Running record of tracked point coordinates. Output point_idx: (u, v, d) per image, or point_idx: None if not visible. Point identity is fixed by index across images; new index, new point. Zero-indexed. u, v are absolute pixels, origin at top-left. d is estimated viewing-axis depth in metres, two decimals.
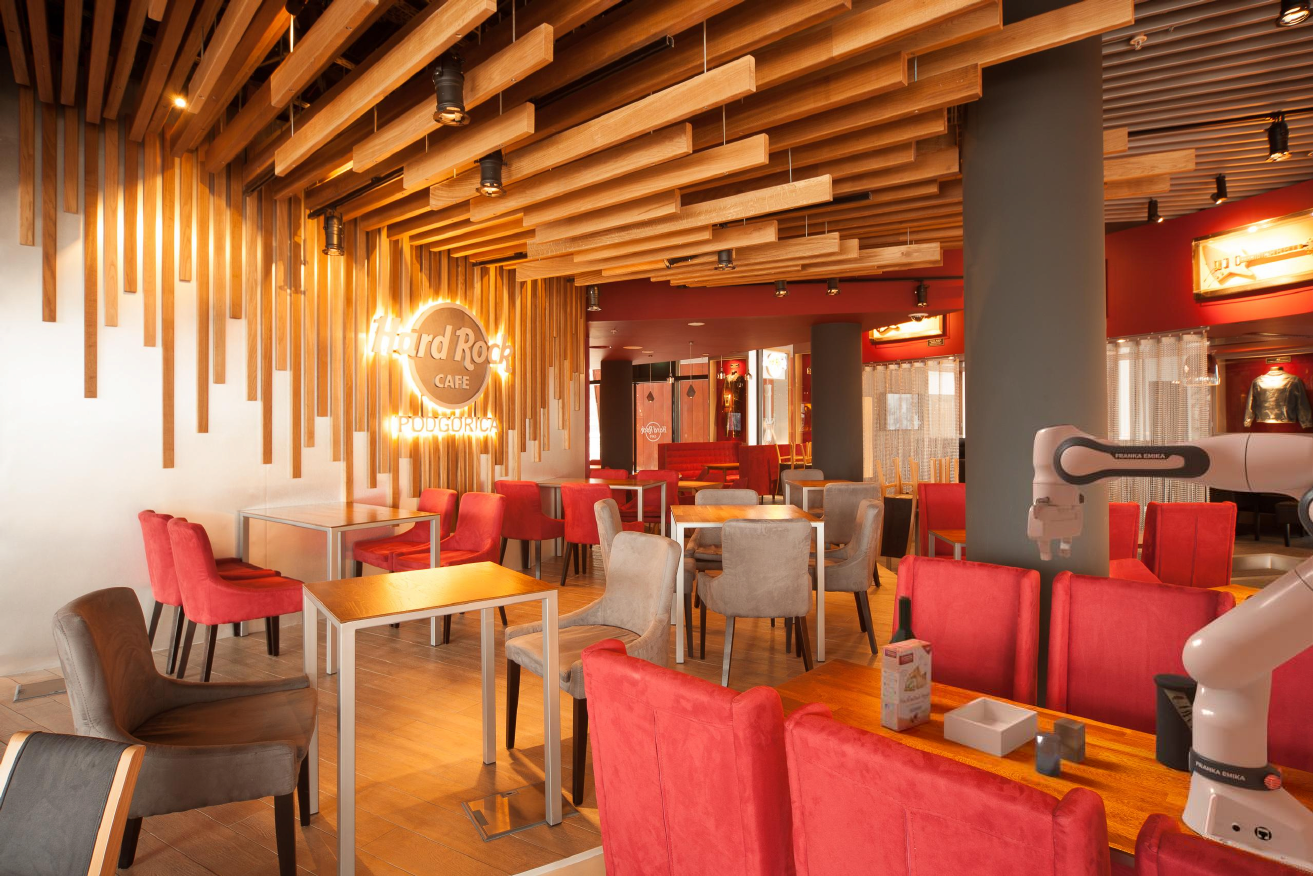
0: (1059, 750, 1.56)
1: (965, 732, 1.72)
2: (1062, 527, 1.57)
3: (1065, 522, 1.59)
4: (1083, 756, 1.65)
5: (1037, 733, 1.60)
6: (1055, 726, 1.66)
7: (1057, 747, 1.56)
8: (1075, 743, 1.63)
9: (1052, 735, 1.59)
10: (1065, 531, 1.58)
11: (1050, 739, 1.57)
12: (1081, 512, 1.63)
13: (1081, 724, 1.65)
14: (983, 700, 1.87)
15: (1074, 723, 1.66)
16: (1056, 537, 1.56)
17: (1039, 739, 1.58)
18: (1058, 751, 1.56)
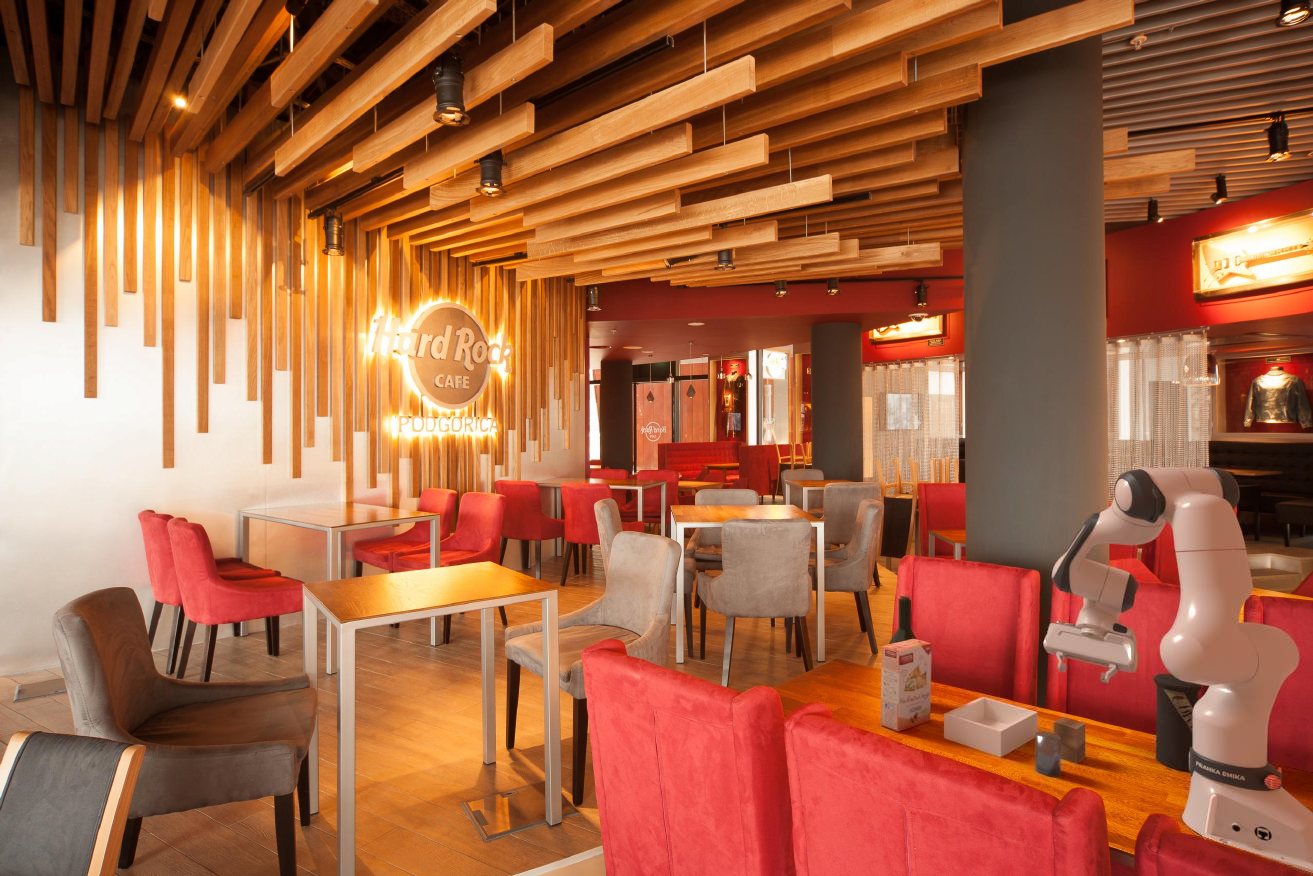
0: (1059, 750, 1.56)
1: (965, 732, 1.72)
2: (1084, 646, 1.77)
3: (1094, 645, 1.76)
4: (1083, 756, 1.65)
5: (1037, 733, 1.60)
6: (1055, 726, 1.66)
7: (1057, 747, 1.56)
8: (1075, 743, 1.63)
9: (1052, 735, 1.59)
10: (1090, 650, 1.76)
11: (1050, 739, 1.57)
12: (1129, 644, 1.72)
13: (1081, 724, 1.65)
14: (983, 700, 1.87)
15: (1074, 723, 1.66)
16: (1069, 650, 1.79)
17: (1039, 738, 1.58)
18: (1058, 751, 1.56)
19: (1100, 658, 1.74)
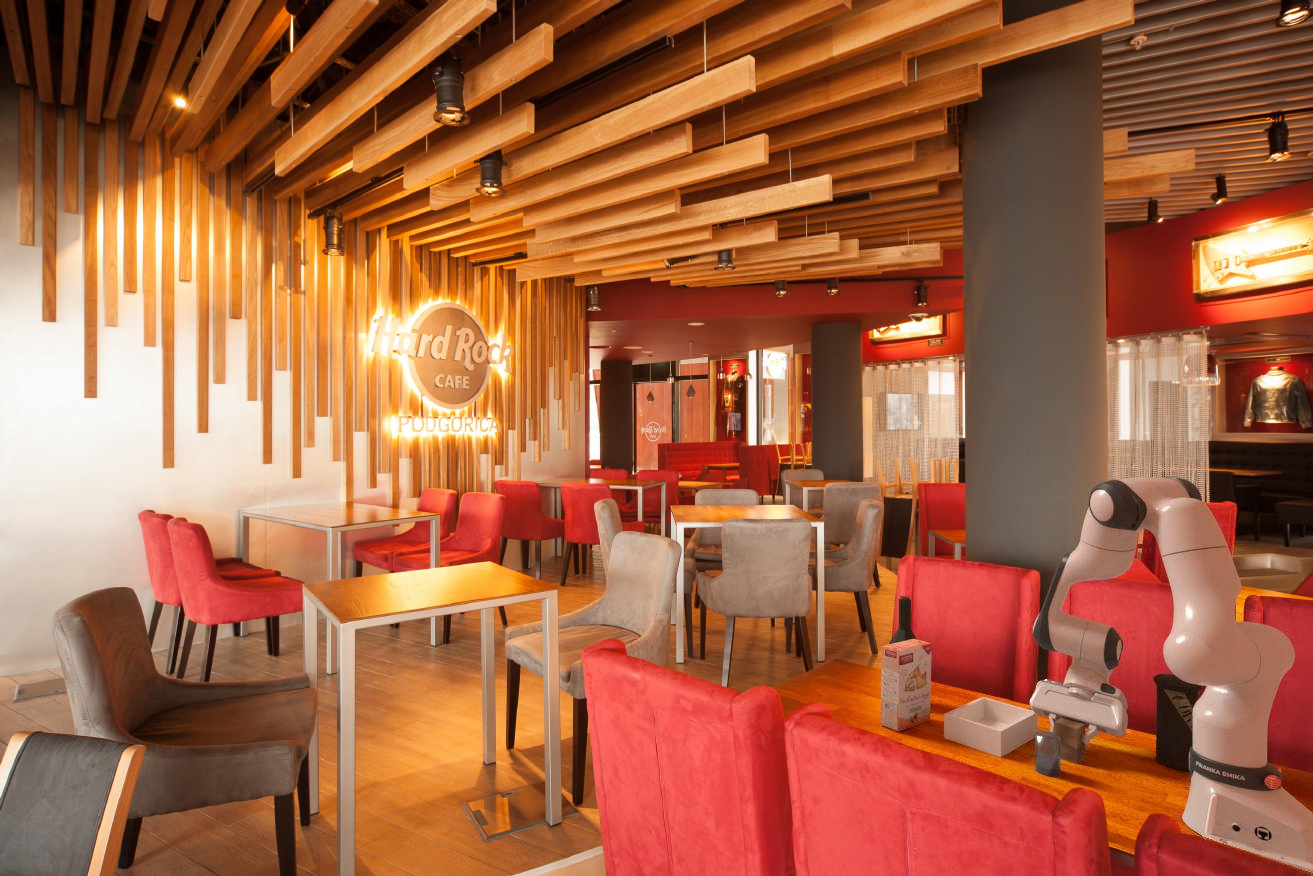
0: (1059, 750, 1.57)
1: (965, 732, 1.72)
2: (1071, 707, 1.69)
3: (1081, 706, 1.68)
4: (1083, 756, 1.65)
5: (1036, 733, 1.60)
6: (1055, 726, 1.66)
7: (1057, 747, 1.56)
8: (1075, 743, 1.63)
9: (1052, 735, 1.59)
10: (1077, 712, 1.67)
11: (1050, 739, 1.57)
12: (1117, 706, 1.63)
13: (1081, 724, 1.65)
14: (983, 700, 1.87)
15: (1074, 723, 1.66)
16: (1055, 711, 1.70)
17: (1039, 738, 1.58)
18: (1058, 751, 1.56)
19: (1087, 720, 1.65)
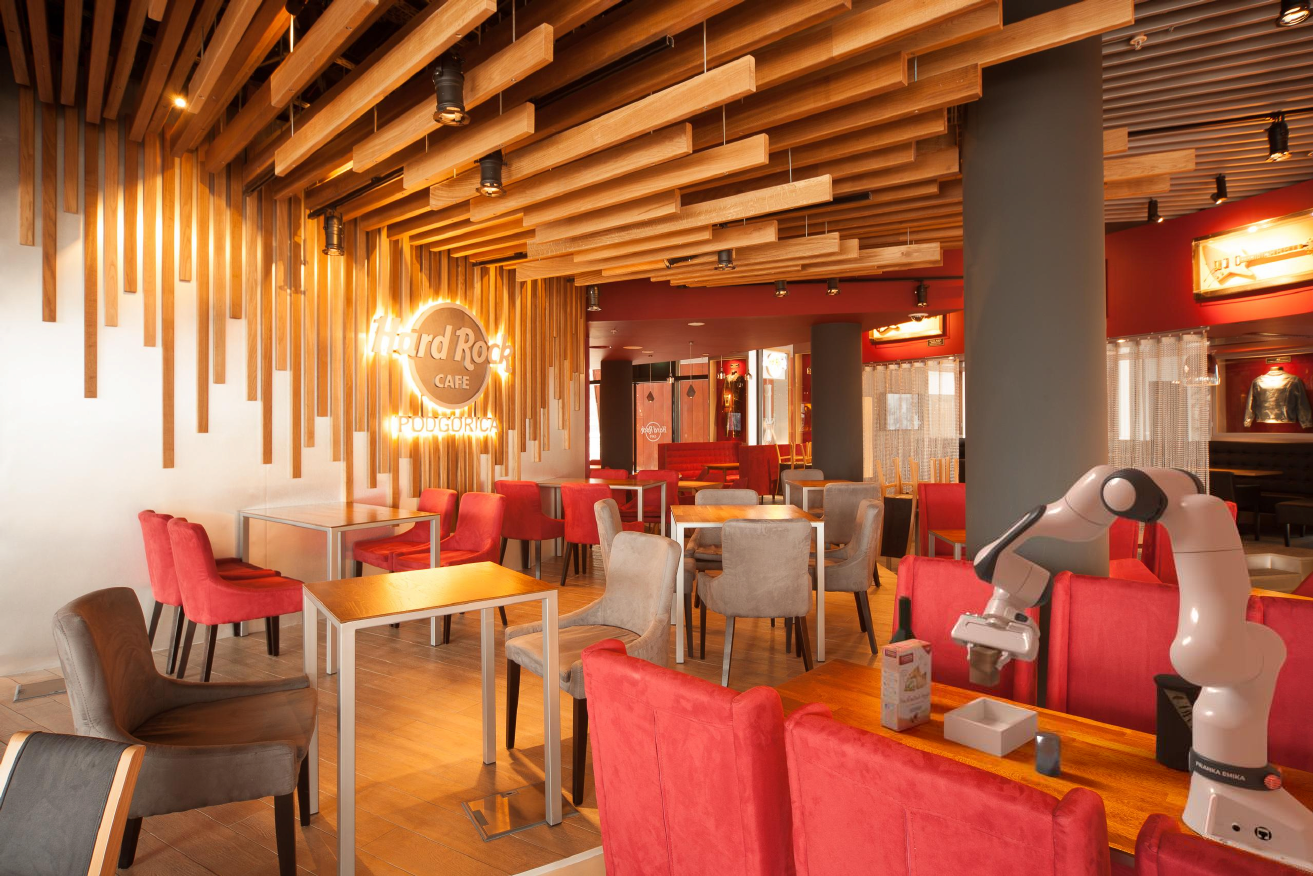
0: (1059, 750, 1.56)
1: (965, 732, 1.72)
2: (987, 636, 1.77)
3: (996, 635, 1.76)
4: (997, 681, 1.74)
5: (1037, 733, 1.59)
6: (971, 653, 1.75)
7: (1057, 747, 1.56)
8: (988, 667, 1.72)
9: (1052, 735, 1.59)
10: (992, 640, 1.76)
11: (1050, 739, 1.56)
12: (1028, 633, 1.71)
13: (995, 650, 1.74)
14: (983, 700, 1.87)
15: (989, 650, 1.74)
16: (973, 640, 1.79)
17: (1039, 739, 1.57)
18: (1058, 751, 1.56)
19: (1000, 647, 1.73)
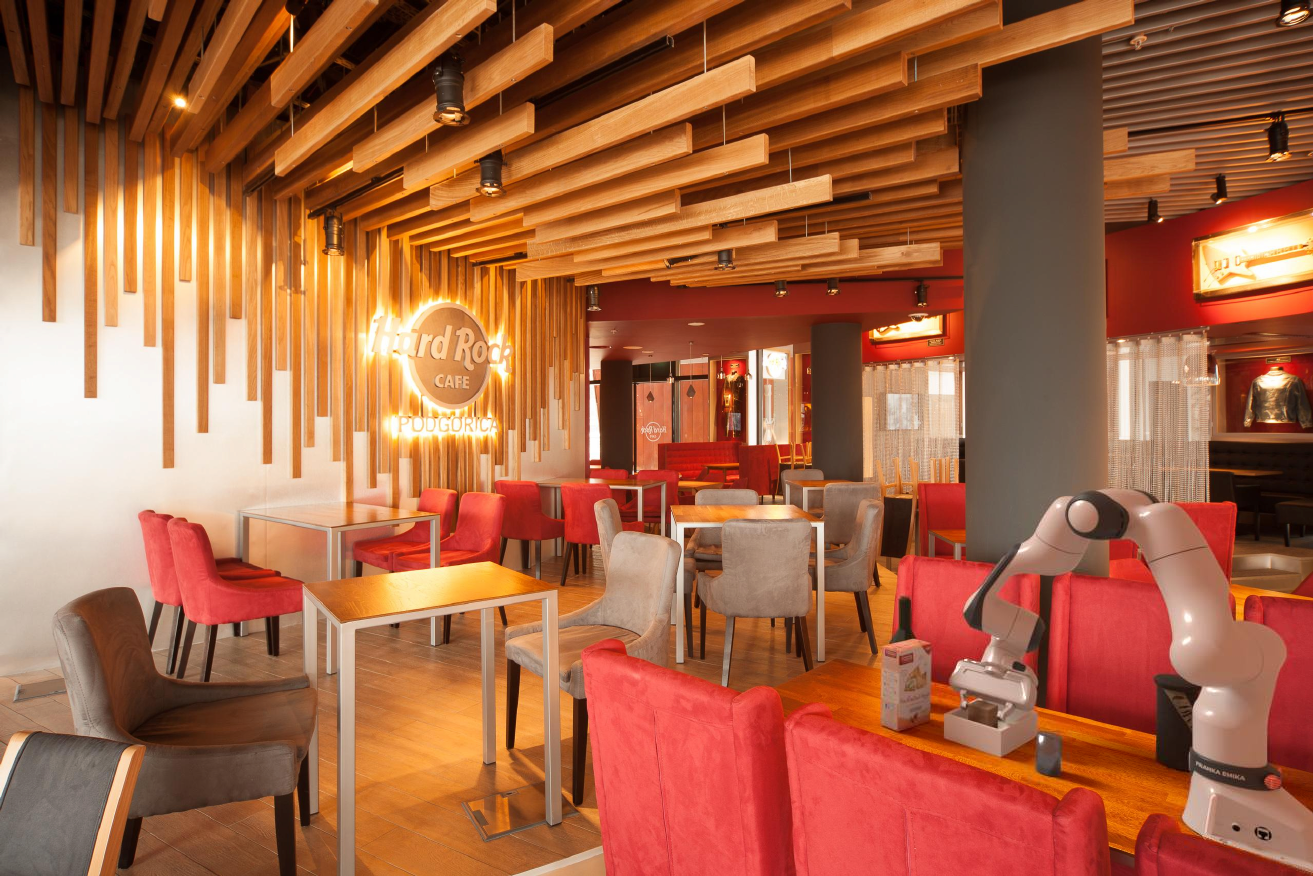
0: (1061, 749, 1.57)
1: (965, 732, 1.72)
2: (985, 684, 1.77)
3: (994, 683, 1.76)
4: None
5: (1038, 733, 1.59)
6: (969, 708, 1.75)
7: (1060, 747, 1.56)
8: (986, 724, 1.71)
9: (1053, 734, 1.59)
10: (990, 689, 1.76)
11: (1053, 739, 1.56)
12: (1026, 682, 1.71)
13: (993, 706, 1.74)
14: (983, 700, 1.87)
15: (987, 705, 1.74)
16: (971, 688, 1.78)
17: (1042, 738, 1.57)
18: (1060, 751, 1.56)
19: (998, 697, 1.73)
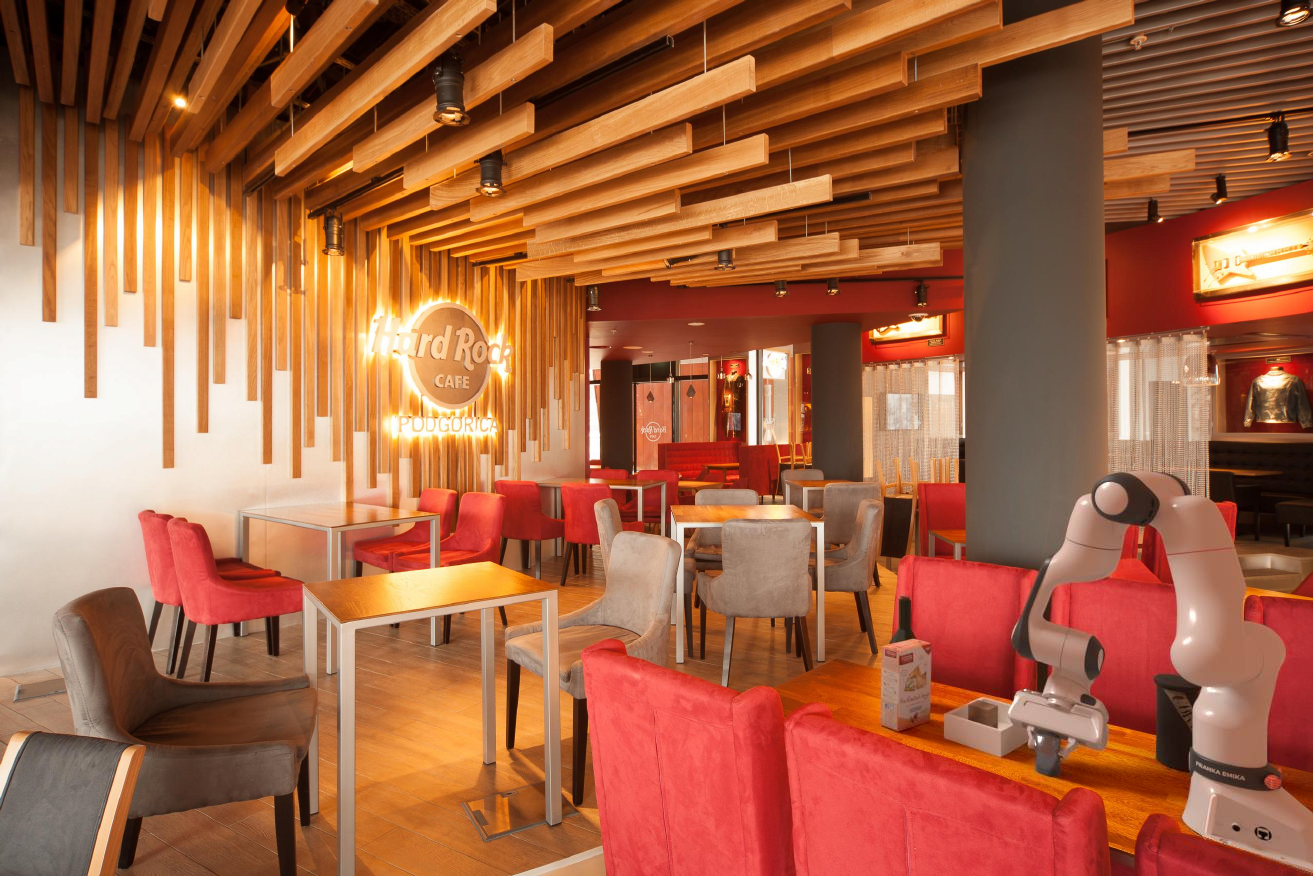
0: None
1: (965, 732, 1.72)
2: (1050, 719, 1.61)
3: (1060, 718, 1.60)
4: None
5: (1037, 734, 1.59)
6: (969, 708, 1.75)
7: (1060, 746, 1.57)
8: (986, 724, 1.71)
9: (1050, 734, 1.59)
10: (1055, 724, 1.60)
11: (1054, 739, 1.56)
12: (1097, 718, 1.55)
13: (993, 706, 1.74)
14: (983, 700, 1.87)
15: (987, 705, 1.74)
16: (1034, 723, 1.62)
17: (1043, 740, 1.57)
18: None
19: (1066, 733, 1.57)
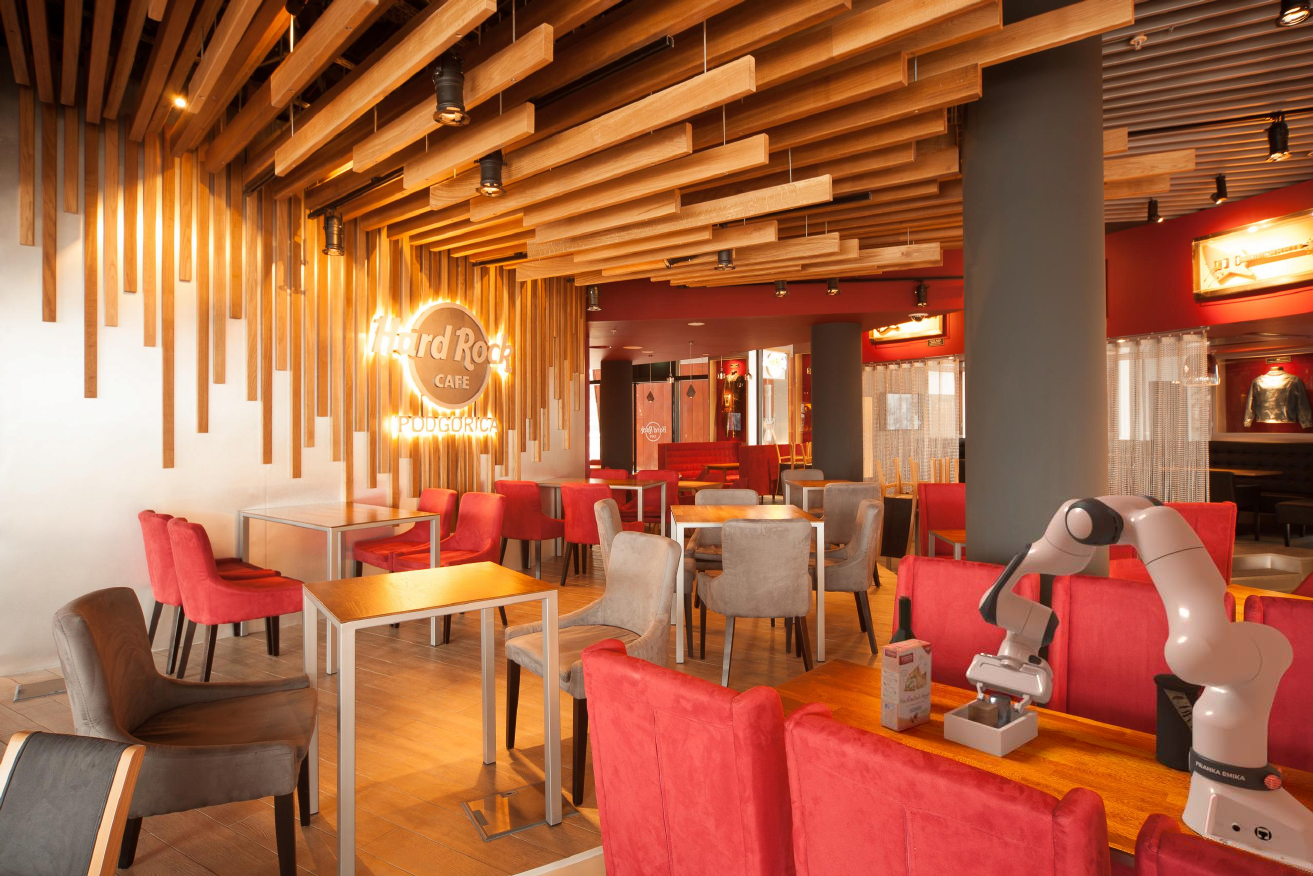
0: (1010, 708, 1.79)
1: (965, 732, 1.72)
2: (1002, 677, 1.83)
3: (1010, 676, 1.82)
4: None
5: (990, 696, 1.81)
6: (969, 708, 1.75)
7: (1009, 706, 1.78)
8: (986, 724, 1.71)
9: (1002, 696, 1.81)
10: (1006, 682, 1.81)
11: (1004, 700, 1.78)
12: (1042, 675, 1.77)
13: (993, 706, 1.74)
14: None
15: (987, 705, 1.74)
16: (988, 681, 1.84)
17: (995, 701, 1.78)
18: (1010, 710, 1.79)
19: (1015, 689, 1.79)
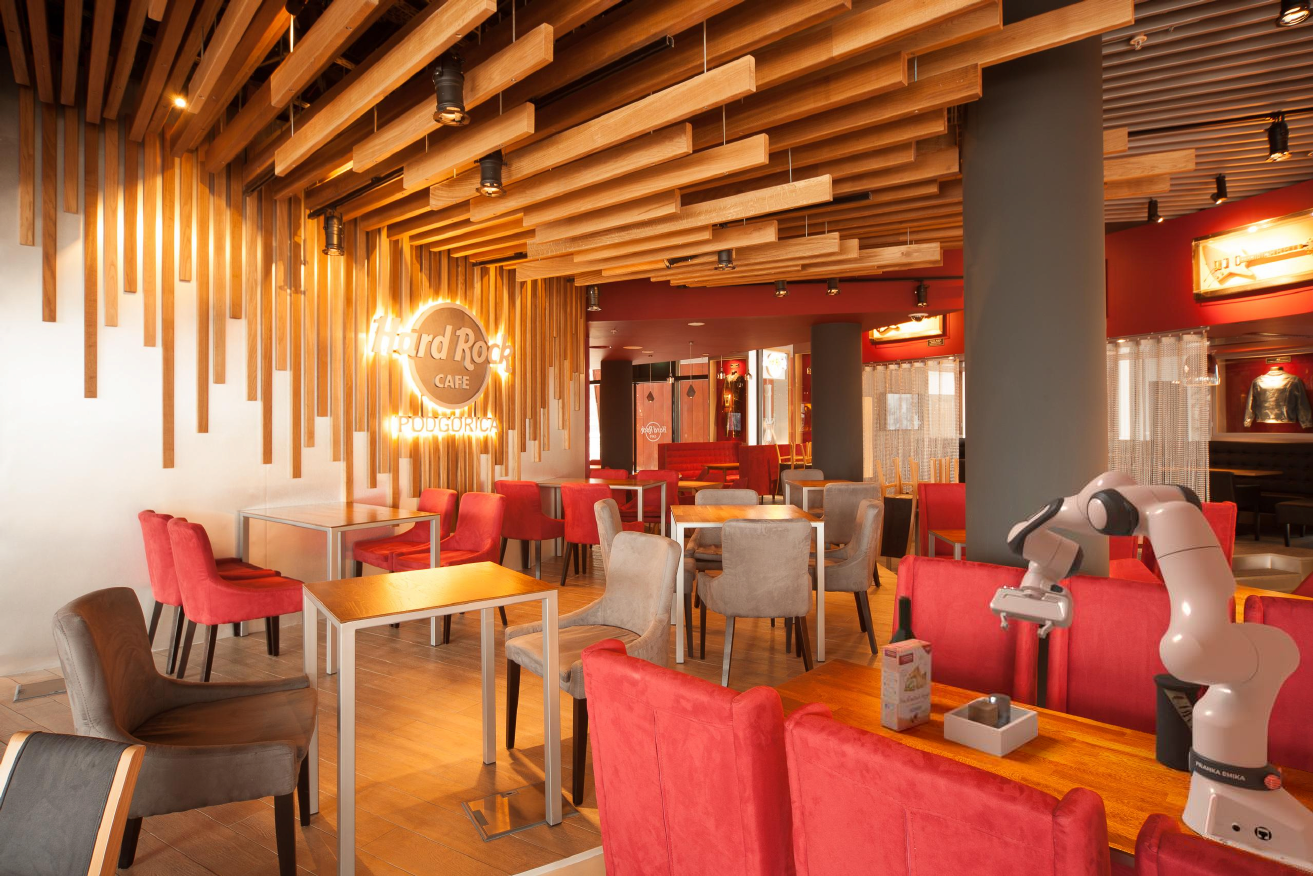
0: (1010, 708, 1.79)
1: (965, 732, 1.72)
2: (1025, 606, 1.92)
3: (1033, 605, 1.91)
4: None
5: (990, 696, 1.81)
6: (969, 708, 1.75)
7: (1009, 705, 1.78)
8: (986, 724, 1.71)
9: (1002, 696, 1.81)
10: (1029, 610, 1.90)
11: (1004, 699, 1.78)
12: (1063, 602, 1.86)
13: (993, 706, 1.74)
14: (983, 700, 1.87)
15: (987, 705, 1.74)
16: (1011, 610, 1.93)
17: (995, 700, 1.79)
18: (1010, 709, 1.79)
19: (1038, 616, 1.88)
